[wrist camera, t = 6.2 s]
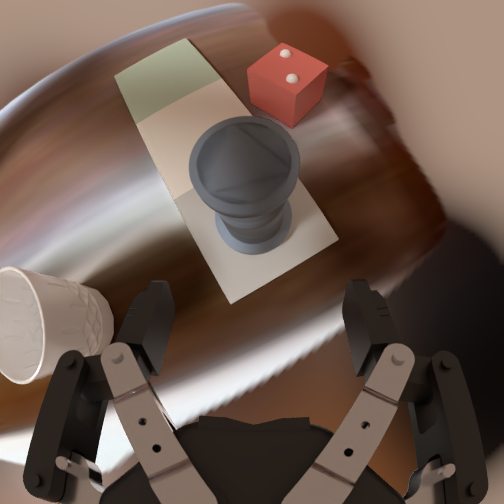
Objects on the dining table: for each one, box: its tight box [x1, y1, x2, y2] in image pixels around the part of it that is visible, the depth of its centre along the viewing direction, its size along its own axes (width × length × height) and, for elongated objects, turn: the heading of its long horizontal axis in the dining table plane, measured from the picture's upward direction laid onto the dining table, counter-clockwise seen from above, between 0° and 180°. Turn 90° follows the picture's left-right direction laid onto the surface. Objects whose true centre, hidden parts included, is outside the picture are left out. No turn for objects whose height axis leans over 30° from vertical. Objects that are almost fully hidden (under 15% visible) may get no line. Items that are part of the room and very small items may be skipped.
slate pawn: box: [189, 116, 300, 255], centre depth 18 cm, size 6×6×10 cm
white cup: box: [0, 266, 114, 384], centre depth 18 cm, size 8×8×10 cm
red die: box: [247, 43, 329, 128], centre depth 23 cm, size 5×5×6 cm
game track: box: [114, 38, 339, 304], centre depth 25 cm, size 10×30×1 cm, turn 30°
